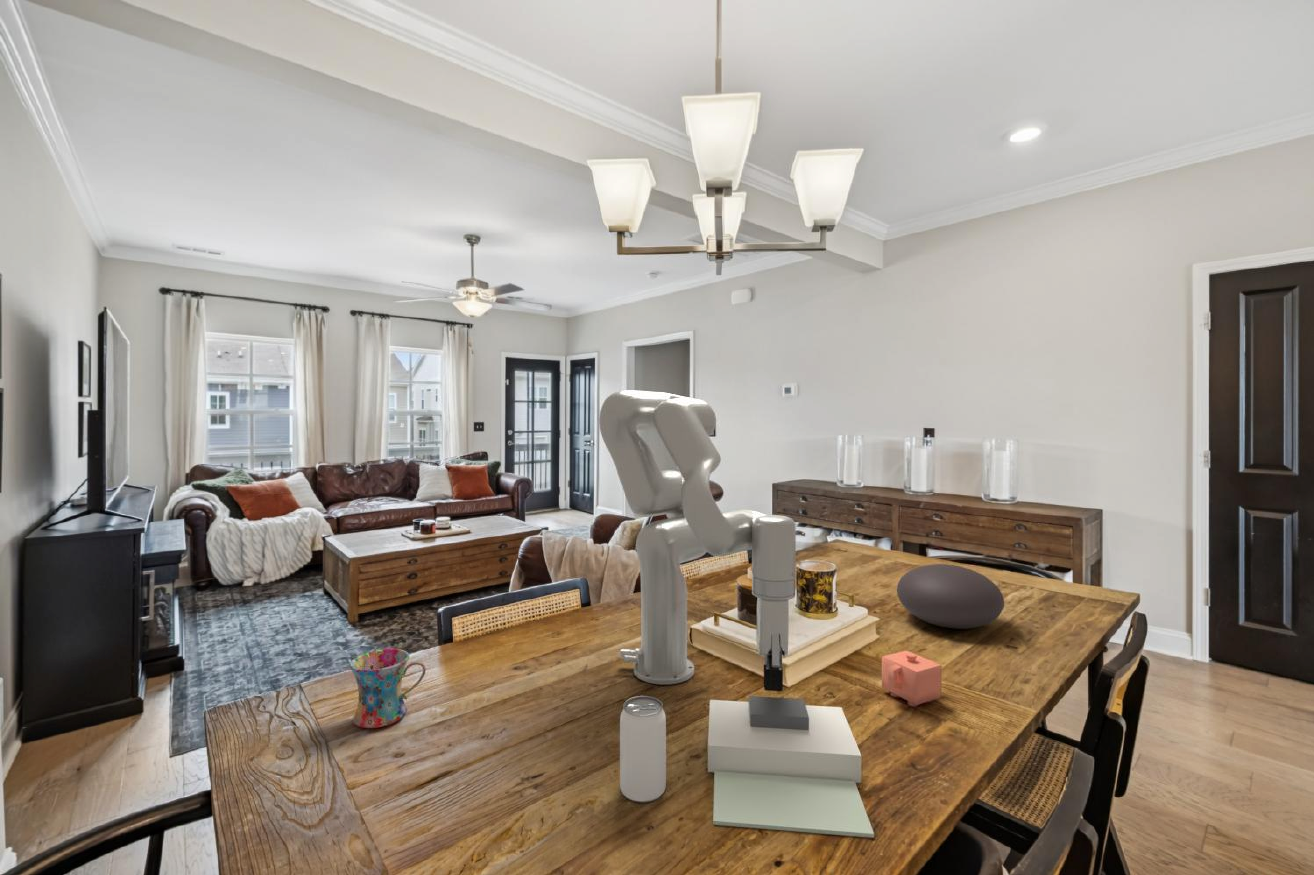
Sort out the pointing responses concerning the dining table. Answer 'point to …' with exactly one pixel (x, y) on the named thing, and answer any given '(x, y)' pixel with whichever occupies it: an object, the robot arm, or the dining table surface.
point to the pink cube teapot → (911, 677)
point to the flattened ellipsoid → (950, 596)
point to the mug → (381, 686)
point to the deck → (782, 745)
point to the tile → (778, 713)
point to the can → (642, 749)
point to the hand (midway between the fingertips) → (773, 688)
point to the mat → (789, 804)
